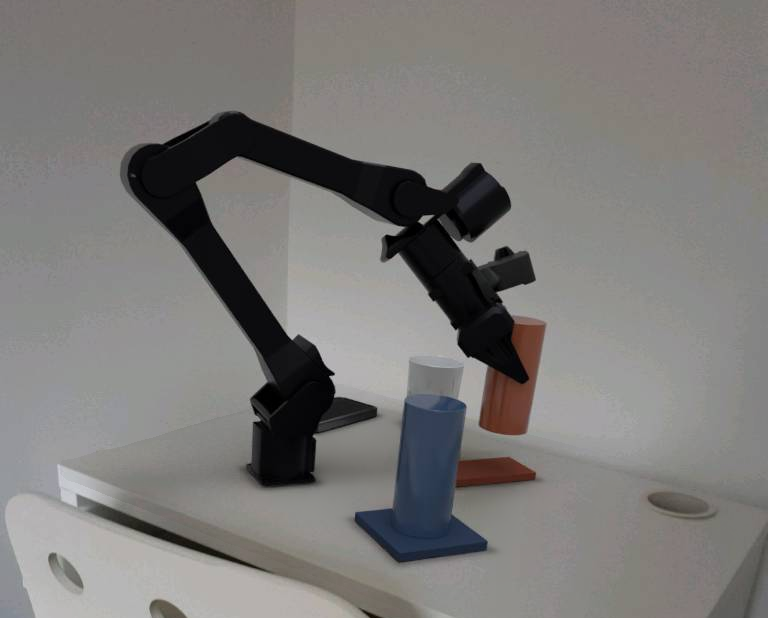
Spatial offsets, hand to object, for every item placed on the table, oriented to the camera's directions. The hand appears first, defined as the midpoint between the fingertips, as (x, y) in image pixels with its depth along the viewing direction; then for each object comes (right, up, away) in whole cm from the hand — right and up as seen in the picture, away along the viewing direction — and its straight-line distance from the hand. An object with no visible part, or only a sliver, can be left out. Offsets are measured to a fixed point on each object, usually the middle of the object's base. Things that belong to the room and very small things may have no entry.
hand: (523, 375), depth 96 cm
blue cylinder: (-13, -17, -13) cm, 25 cm away
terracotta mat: (-4, -12, +6) cm, 14 cm away
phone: (-25, -3, +23) cm, 34 cm away
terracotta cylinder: (-2, -6, +2) cm, 7 cm away
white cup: (-10, -4, +23) cm, 25 cm away
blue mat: (-13, -18, -13) cm, 26 cm away
